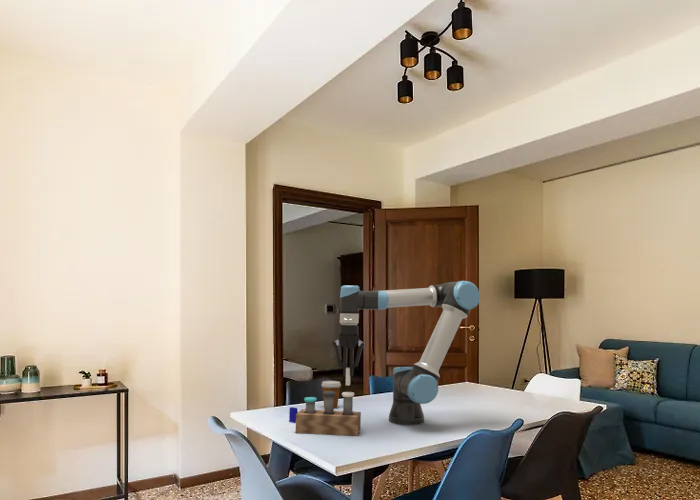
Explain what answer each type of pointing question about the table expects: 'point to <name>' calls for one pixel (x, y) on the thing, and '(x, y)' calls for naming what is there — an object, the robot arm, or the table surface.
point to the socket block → (328, 423)
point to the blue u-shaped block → (292, 414)
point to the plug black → (329, 402)
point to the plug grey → (347, 402)
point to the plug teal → (310, 404)
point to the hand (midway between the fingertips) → (347, 384)
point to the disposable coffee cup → (332, 387)
